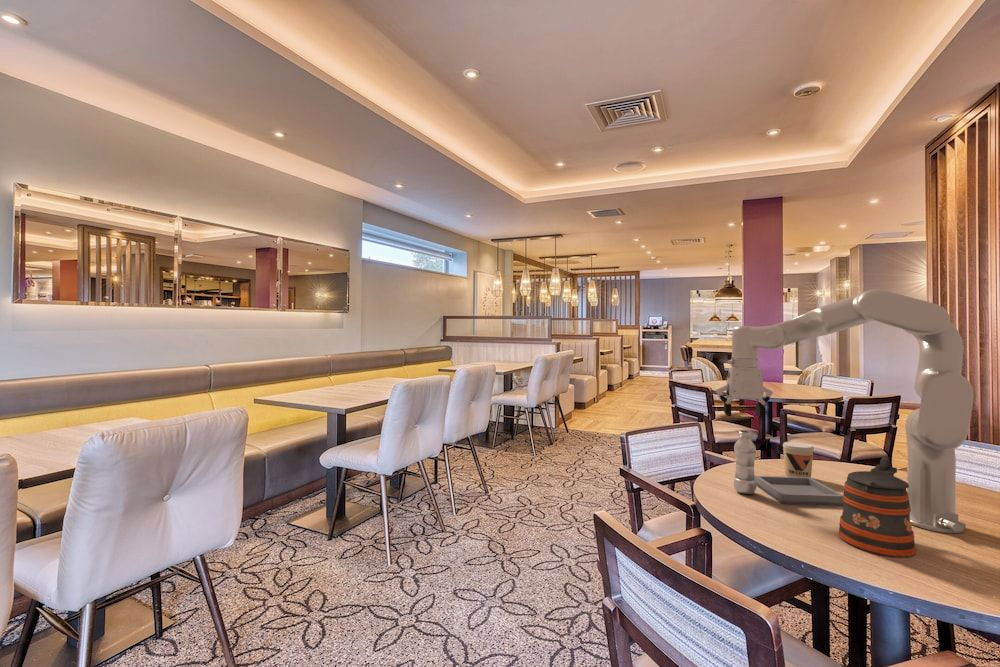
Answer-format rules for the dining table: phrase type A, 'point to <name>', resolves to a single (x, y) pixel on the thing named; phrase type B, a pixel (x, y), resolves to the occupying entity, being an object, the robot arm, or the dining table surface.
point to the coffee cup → (798, 459)
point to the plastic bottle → (744, 463)
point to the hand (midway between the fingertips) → (743, 416)
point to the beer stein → (877, 512)
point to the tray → (799, 491)
